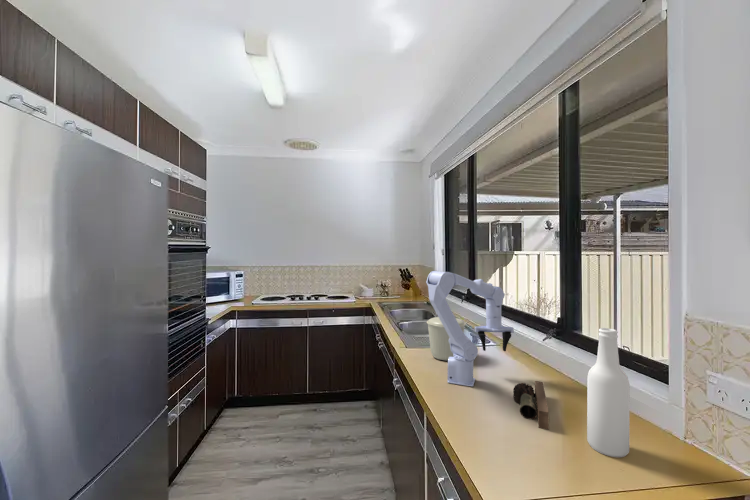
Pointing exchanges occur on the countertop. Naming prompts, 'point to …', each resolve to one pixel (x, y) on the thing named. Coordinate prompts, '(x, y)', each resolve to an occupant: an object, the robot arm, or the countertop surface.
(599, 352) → the alcohol
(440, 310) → the robot arm
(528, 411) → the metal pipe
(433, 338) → the canister
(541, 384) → the brown wooden plank
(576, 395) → the countertop surface
